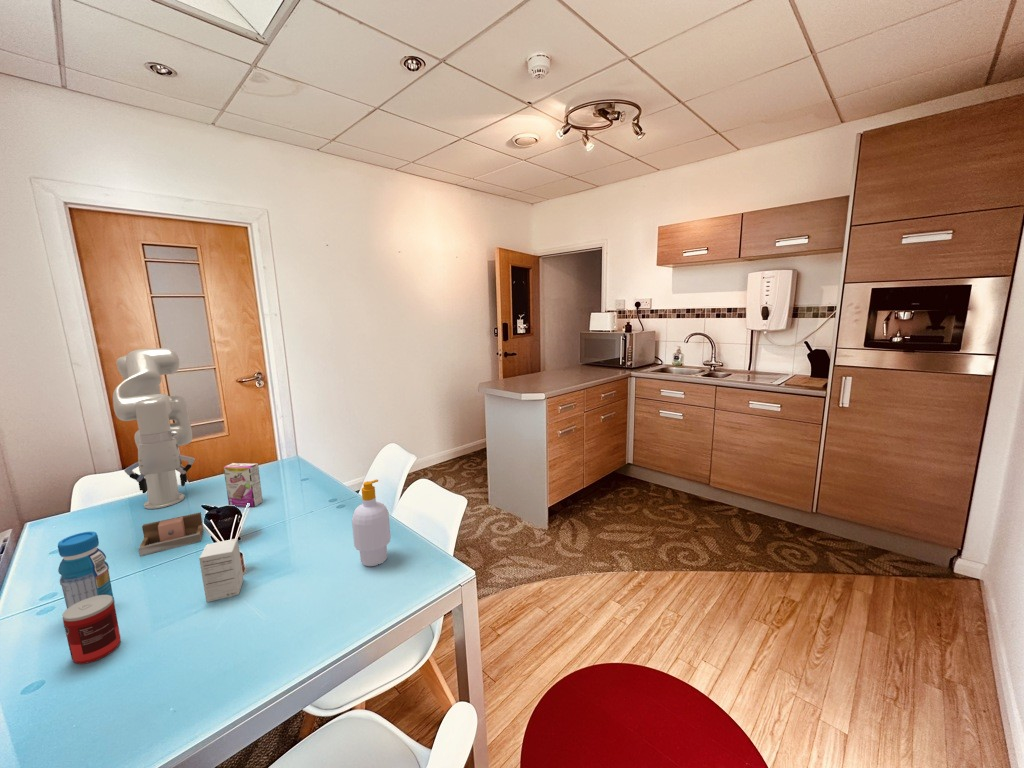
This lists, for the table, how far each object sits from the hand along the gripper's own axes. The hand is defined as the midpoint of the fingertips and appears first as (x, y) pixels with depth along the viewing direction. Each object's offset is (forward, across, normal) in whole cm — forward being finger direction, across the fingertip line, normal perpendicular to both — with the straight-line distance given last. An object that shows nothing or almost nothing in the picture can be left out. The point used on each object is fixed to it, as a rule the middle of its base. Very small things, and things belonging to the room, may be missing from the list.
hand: (164, 488), depth 134 cm
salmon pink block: (+19, 0, 0) cm, 19 cm away
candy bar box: (+19, -20, -19) cm, 33 cm away
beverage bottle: (+18, +12, +32) cm, 39 cm away
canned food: (+18, +7, +50) cm, 54 cm away
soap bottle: (+18, -53, +49) cm, 75 cm away
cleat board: (+18, 0, +1) cm, 19 cm away
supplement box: (+18, -16, +41) cm, 48 cm away
